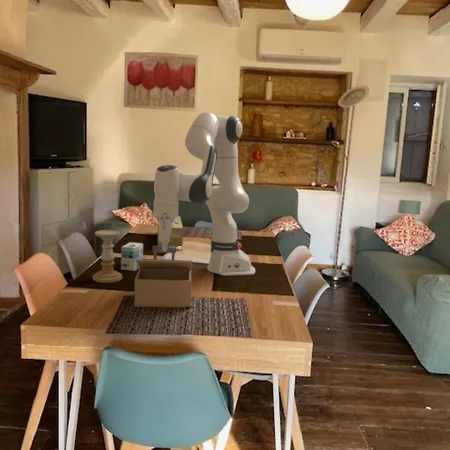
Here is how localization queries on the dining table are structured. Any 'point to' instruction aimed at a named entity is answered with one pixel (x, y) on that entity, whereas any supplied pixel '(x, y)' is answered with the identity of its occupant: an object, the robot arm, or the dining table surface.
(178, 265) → the cardboard box lid
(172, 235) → the soda box
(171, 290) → the carton
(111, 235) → the candle holder
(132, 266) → the light bulb box
